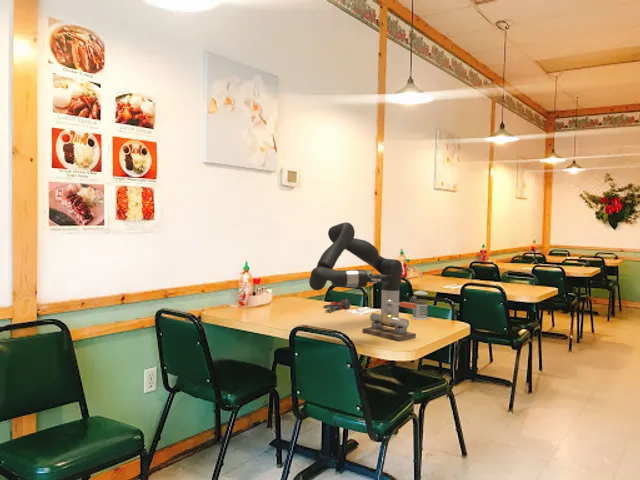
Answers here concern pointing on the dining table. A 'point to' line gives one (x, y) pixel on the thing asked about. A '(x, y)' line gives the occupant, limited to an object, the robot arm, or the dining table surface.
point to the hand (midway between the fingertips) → (393, 278)
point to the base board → (389, 333)
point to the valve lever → (401, 304)
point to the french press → (418, 312)
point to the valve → (338, 305)
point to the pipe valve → (389, 322)
